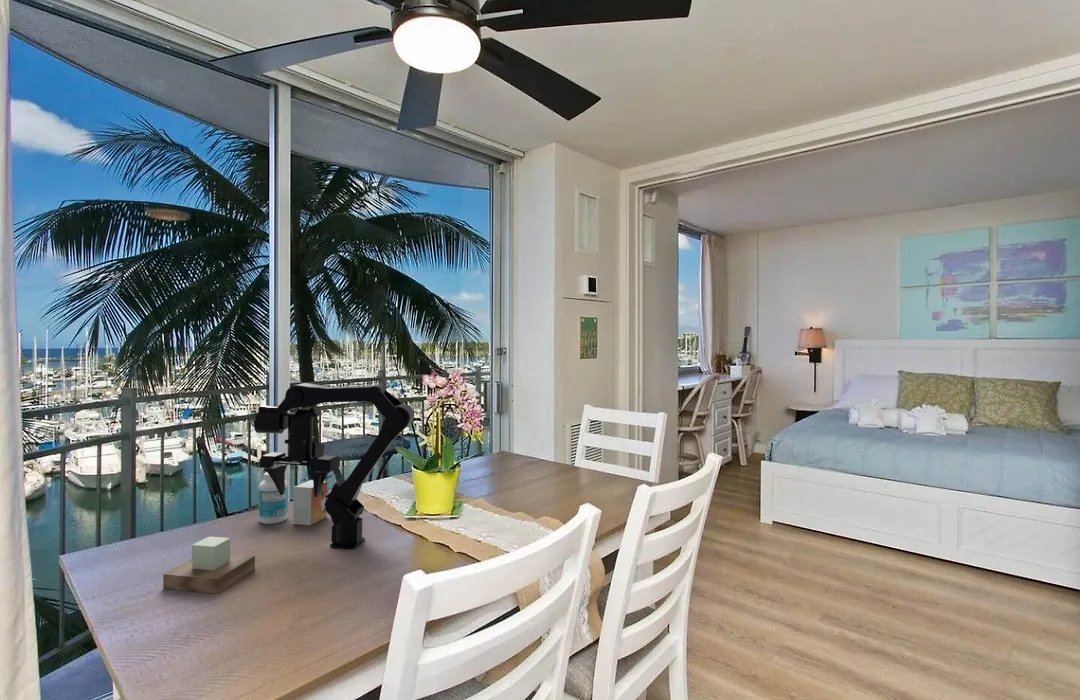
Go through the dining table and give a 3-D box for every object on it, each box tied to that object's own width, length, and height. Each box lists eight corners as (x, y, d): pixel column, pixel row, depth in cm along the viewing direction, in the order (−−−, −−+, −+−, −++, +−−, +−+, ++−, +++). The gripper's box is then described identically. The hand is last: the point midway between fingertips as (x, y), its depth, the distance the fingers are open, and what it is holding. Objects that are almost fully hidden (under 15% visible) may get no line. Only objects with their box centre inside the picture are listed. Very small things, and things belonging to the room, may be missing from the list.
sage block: (230, 560, 121) (230, 538, 121) (213, 570, 116) (213, 546, 116) (209, 559, 122) (209, 536, 122) (191, 568, 117) (192, 544, 117)
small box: (310, 526, 152) (311, 488, 152) (292, 524, 153) (293, 486, 153) (327, 517, 160) (328, 480, 160) (310, 515, 161) (310, 479, 161)
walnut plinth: (254, 569, 124) (254, 555, 124) (217, 593, 113) (217, 579, 112) (205, 564, 126) (205, 551, 126) (163, 588, 114) (163, 574, 114)
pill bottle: (264, 516, 160) (265, 469, 159) (291, 516, 160) (292, 469, 160) (253, 525, 152) (254, 475, 152) (281, 525, 153) (282, 476, 152)
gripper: (350, 430, 146) (349, 489, 147) (284, 426, 149) (283, 484, 149) (329, 438, 135) (328, 501, 136) (258, 434, 138) (257, 496, 138)
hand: (299, 495), depth 140 cm, fingers open, 9 cm apart
